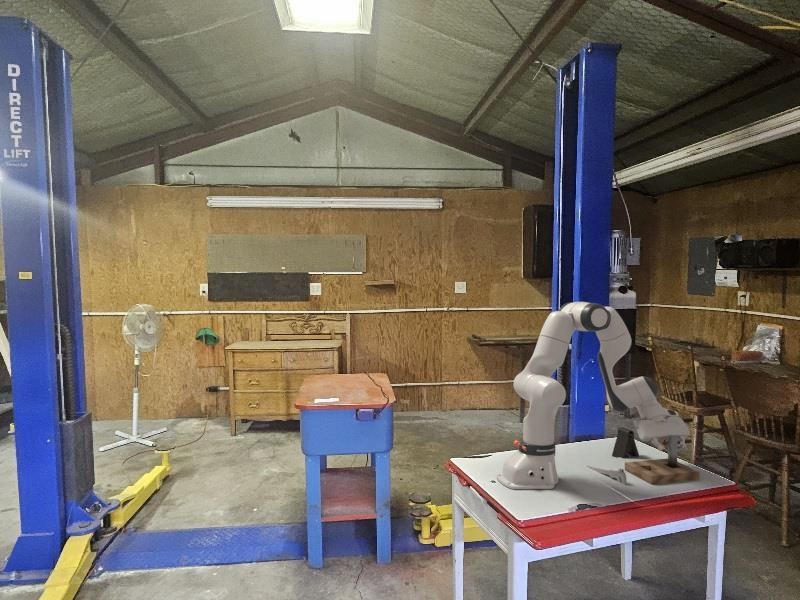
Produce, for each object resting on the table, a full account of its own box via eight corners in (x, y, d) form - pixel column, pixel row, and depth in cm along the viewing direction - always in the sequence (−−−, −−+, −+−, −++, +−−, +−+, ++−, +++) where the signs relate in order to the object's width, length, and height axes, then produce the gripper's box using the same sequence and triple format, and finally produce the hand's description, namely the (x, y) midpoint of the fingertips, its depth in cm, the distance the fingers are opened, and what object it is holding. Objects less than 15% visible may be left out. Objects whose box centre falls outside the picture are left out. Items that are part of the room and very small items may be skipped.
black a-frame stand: (629, 453, 201) (629, 426, 201) (639, 458, 196) (639, 429, 196) (611, 456, 199) (611, 427, 199) (622, 460, 193) (622, 431, 193)
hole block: (651, 487, 166) (651, 476, 166) (624, 472, 180) (624, 462, 180) (699, 482, 171) (699, 471, 171) (669, 468, 184) (669, 458, 184)
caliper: (626, 487, 167) (626, 470, 167) (624, 488, 167) (624, 470, 166) (585, 468, 186) (585, 452, 186) (583, 468, 186) (583, 452, 186)
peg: (671, 475, 175) (672, 437, 174) (665, 472, 178) (666, 435, 177) (678, 474, 175) (679, 437, 175) (672, 471, 178) (673, 435, 178)
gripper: (635, 414, 181) (653, 447, 171) (680, 411, 185) (701, 443, 176) (627, 422, 185) (645, 455, 176) (671, 419, 190) (691, 451, 180)
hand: (673, 449), depth 176 cm, fingers open, 8 cm apart
